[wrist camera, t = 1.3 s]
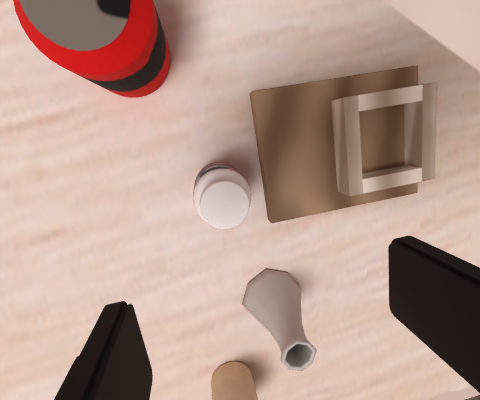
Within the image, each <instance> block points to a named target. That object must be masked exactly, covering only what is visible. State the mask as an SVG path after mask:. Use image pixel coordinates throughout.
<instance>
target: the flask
mask: <svg viewBox="0 0 480 400" xmlns="http://www.w3.org/2000/svg"><path fill="white" fill-rule="evenodd" d="M242 305H243V306H244V307H245V308H246V309H247V310H248V311H249V312H250V313H251V314H252V315H253V316H254V317H255V318H256V319H257V320H258V321H259V322H260V323H261V324H262V325H263V326H264V327H265V328H266V329H268V330H269V332H270V333H271V334H272V336H273V337H274V339H275V340H276V342H277V343H278V345H279V347H280V350H281V352H282V355H281V362H282V363H283V364H284V365H285V366H286V367H287V368H288V369H289V370H298V371H302V370H304V369H305V368H306V367H308V366H309V365H310V364H311V363H313V360H314V357H315V354H316V352H317V351H316V349H315V348H314V347H313V345H312V344H311V343H310V342H309V341H308V340H307V338H306V336H305V333H304V329H303V326H302V317H301V288H300V287H299V285H298V284H297V283H296V282H295V281H294V279H293V278H292V277H291V276H290V275H289V274H288V273H286V272H280V271H275V270H269V269H266V270H264V271H263V272H262V273H261V274H259V275H258V276H257V277H256V278H254V279H253V280H252V281H251V282H249V283H248V285H247V289H246V292H245V296H244V299H243V303H242Z"/></svg>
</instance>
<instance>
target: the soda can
mask: <svg viewBox="0 0 480 400" xmlns="http://www.w3.org/2000/svg"><path fill="white" fill-rule="evenodd" d="M13 1H14V6H15V11H16V13H17V16H18V18H19V21H20V23H21V26H22V27H23V29H24V31H25V32H26V34H27V35H28V37H29V39H30V40H31V41H32V42H33V43H34V45H35V46H36V47H37V48H38V49H39V50H40V51H41V52H42V53H43V54H44V55H46V56H47V57H48V58H49V59H50V60H52V61H53V62H55V63H57V64H58V65H60V66H62V67H63V68H65V69H67V70H69V71H71V72H73V73H75V74H77V75H79V76H81V77H83V78H85V79H87V80H89V81H91V82H93V83H95V84H97V85H99V86H101V87H103V88H105V89H107V90H109V91H111V92H113V93H115V94H118V95H121V96H124V97H142V96H146V95H148V94H150V93H152V92H154V91H155V90H156V89H158V88H159V87H160V85H161V84H162V83H163V82H164V80H165V78H166V76H167V74H168V70H169V66H170V52H169V48H168V44H167V41H166V38H165V35H164V32H163V29H162V26H161V23H160V20H159V17H158V14H157V11H156V8H155V5H154V2H153V0H13Z"/></svg>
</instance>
